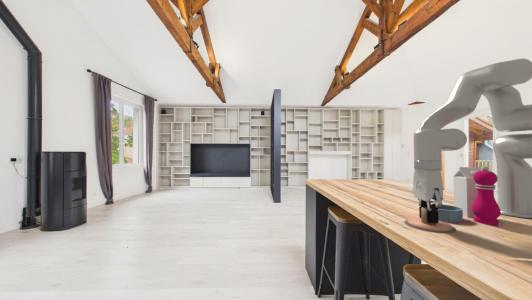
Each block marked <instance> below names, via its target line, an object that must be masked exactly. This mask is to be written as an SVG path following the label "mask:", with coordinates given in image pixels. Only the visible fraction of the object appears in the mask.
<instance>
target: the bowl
mask: <svg viewBox="0 0 532 300" xmlns="http://www.w3.org/2000/svg"><path fill="white" fill-rule="evenodd" d="M432 204H433V203H431V205H432ZM438 217H439V221H443V222H446V223H458V224H459V223H463V222H464V216H463V209H462V208H460V207H456V206H454V205H451V204H444V203H442V206H440V208H439V211H438Z"/></svg>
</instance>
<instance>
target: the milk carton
mask: <svg viewBox="0 0 532 300" xmlns="http://www.w3.org/2000/svg"><path fill="white" fill-rule="evenodd" d="M477 171H482V169H481V167H480V166H472V167H471V166H469V167H468V166H464V167H463V166H459V169H458V171H457V172H456V173H455V174H454V175H453V206H456V207H460V208H462V209H463V217H465V218H473V219H474V216H476V215H475V214H474V213H473V212H472V205H473V203H474V201H475V199H476V197H477V188H475V187H476V185H475V184H477V183H476V182H475V181H474V179H473V175H474V174H475V173H476V172H477Z"/></svg>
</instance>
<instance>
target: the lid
mask: <svg viewBox="0 0 532 300" xmlns="http://www.w3.org/2000/svg"><path fill="white" fill-rule="evenodd" d="M420 207H421V206H420ZM426 210H428V207H421V218H420V217H409V218H407V219H406V220H407V223H408V224H409V225H411V226H413V227H416V228H419V229H423V230H428V231H436V232H448V231H451V230H452V226H453V225H451V224H450V223H449V222H445V221H439V223H428V222H427V216H426Z"/></svg>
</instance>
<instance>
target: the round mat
mask: <svg viewBox="0 0 532 300" xmlns="http://www.w3.org/2000/svg"><path fill="white" fill-rule="evenodd" d="M407 220H408V219H406V220H404V222H403V223H404V225H406V226H408V227H410V228H412V229H416V230H419V231H422V232H427V233H428V232H429V233H435V234H436V233H437V234H452V233H456V232H457V228H456V227H455V226H453V225H452V230H451V231H448V232H436V231H428V230H423V229H419V228H416V227H413V226H411V225H409V224H408V223H407Z"/></svg>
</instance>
